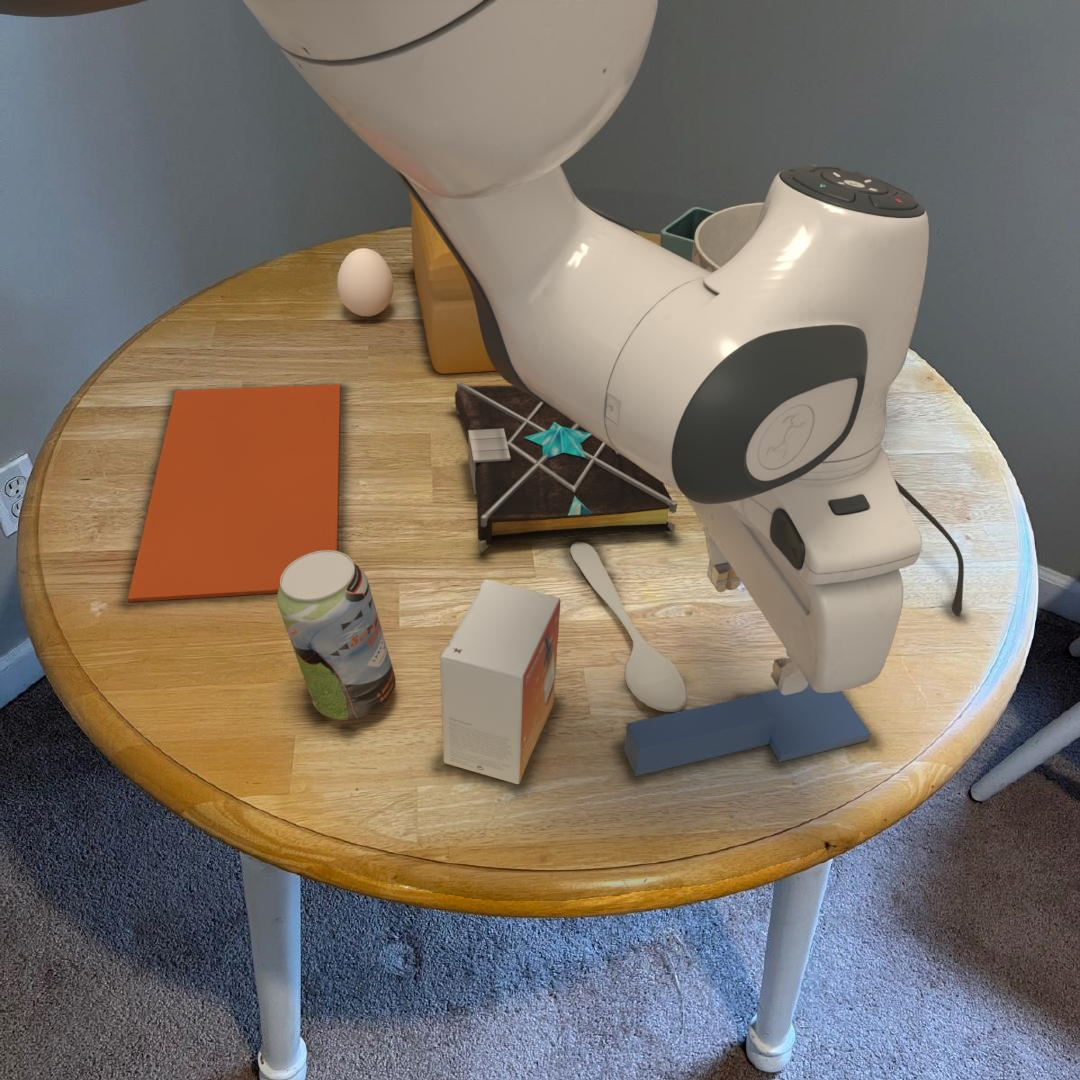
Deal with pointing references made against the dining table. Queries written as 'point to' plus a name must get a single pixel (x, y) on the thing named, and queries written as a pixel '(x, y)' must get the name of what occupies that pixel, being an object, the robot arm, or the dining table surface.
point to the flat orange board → (240, 491)
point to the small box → (499, 680)
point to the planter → (724, 235)
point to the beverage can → (336, 634)
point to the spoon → (634, 643)
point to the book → (550, 473)
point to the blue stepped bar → (745, 729)
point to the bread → (445, 302)
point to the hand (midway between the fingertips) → (753, 632)
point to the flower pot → (683, 232)
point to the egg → (365, 282)
